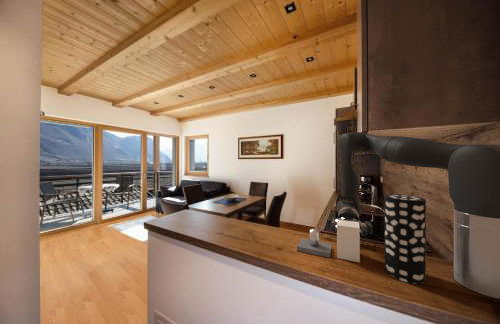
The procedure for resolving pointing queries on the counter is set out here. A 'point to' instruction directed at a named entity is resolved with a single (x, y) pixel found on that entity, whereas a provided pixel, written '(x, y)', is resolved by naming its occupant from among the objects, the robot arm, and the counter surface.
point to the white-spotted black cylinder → (405, 238)
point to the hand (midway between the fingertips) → (348, 231)
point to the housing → (348, 240)
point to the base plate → (314, 250)
